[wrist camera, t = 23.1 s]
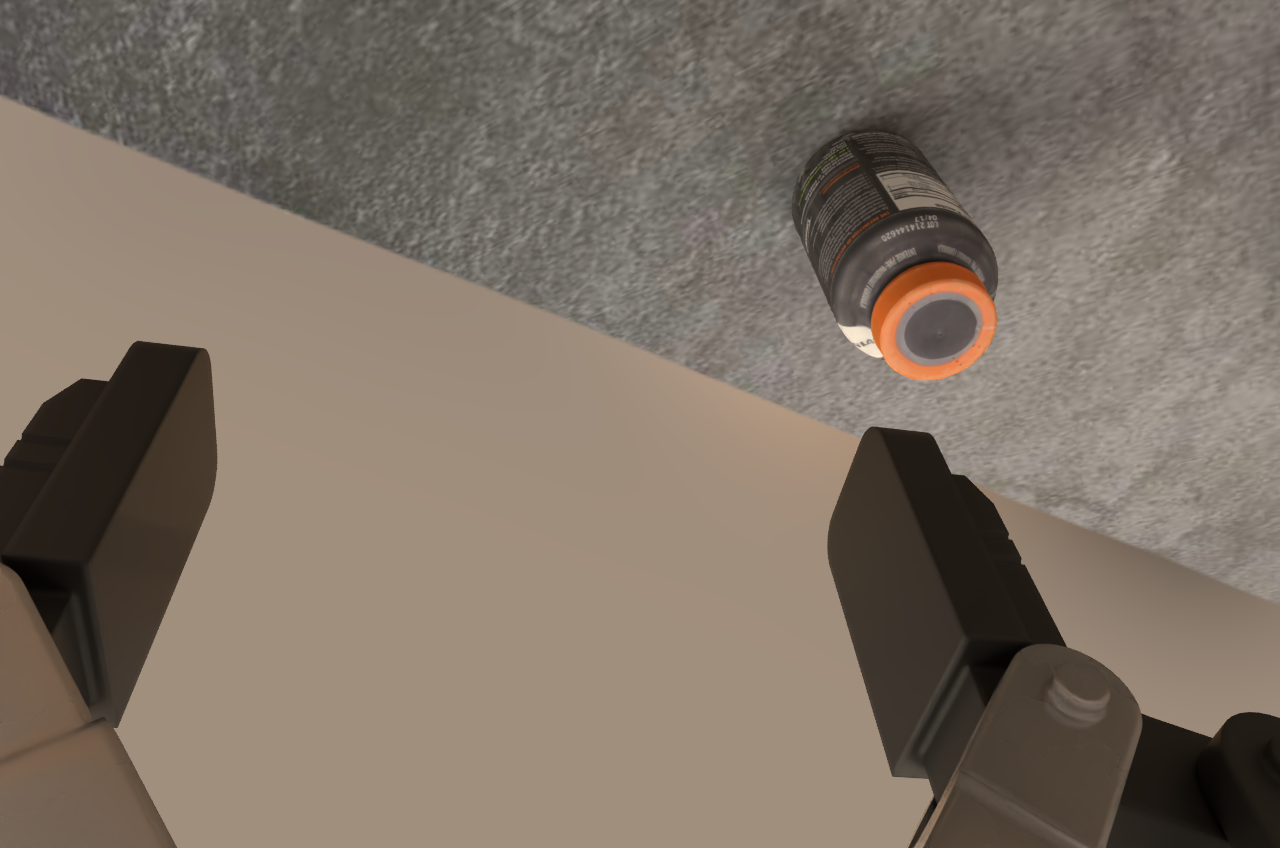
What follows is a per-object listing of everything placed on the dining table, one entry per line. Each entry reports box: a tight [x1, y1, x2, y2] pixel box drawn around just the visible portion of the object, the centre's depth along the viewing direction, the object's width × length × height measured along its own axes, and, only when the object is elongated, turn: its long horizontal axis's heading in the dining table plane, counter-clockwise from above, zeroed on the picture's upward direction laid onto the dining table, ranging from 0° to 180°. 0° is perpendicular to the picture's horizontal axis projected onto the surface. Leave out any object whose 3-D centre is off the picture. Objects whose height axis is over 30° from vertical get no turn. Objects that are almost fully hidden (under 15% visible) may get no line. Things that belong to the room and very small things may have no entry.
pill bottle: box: [792, 130, 998, 380], centre depth 39 cm, size 6×6×11 cm
